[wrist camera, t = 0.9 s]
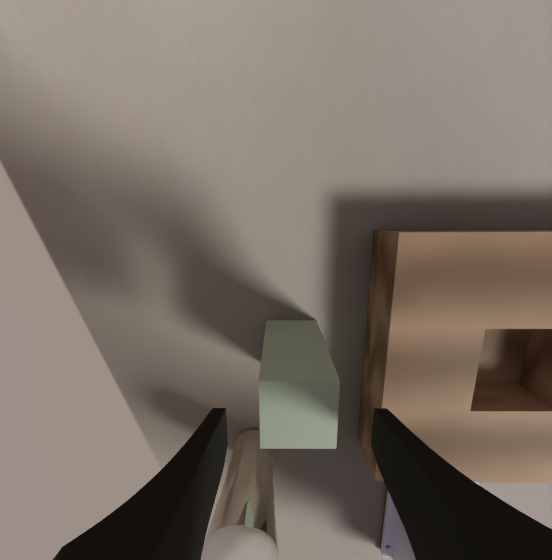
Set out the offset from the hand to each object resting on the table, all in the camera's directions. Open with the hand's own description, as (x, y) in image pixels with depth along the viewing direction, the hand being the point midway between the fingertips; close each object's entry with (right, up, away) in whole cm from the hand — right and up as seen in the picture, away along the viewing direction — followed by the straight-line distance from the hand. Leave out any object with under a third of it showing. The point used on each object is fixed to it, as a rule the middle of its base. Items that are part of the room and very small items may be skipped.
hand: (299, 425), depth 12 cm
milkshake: (-3, -8, +11) cm, 14 cm away
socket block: (+15, +2, +8) cm, 17 cm away
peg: (0, +2, +8) cm, 9 cm away
